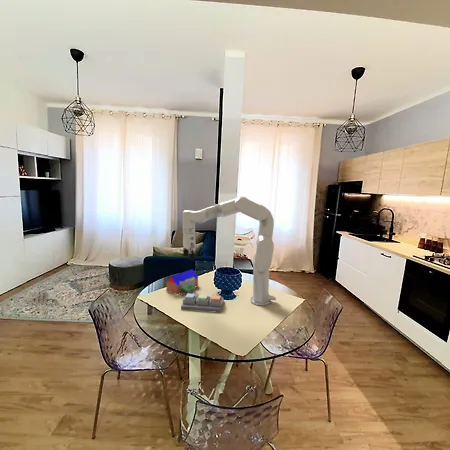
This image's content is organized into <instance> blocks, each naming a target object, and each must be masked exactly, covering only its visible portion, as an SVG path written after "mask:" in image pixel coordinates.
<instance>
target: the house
mask: <svg viewBox="0 0 450 450" xmlns="http://www.w3.org/2000/svg"><path fill="white" fill-rule="evenodd" d="M192 276H193V277H194V278H195V283H194V288H196V287H195V286H197V285H198V286H199V280H198V279H199V276H198V275H197V273H196V272H195V270H193V269H189V270H185V271H182V272H179V273H176V274H174V275H171V276H170V277H168V279H167V280H166V281H165V284H166V285H165V286H166V287H165V288H166V291H167V292H169V293H172V294H174V293H175V295H177V294H178V295H180V294H181V287H180V284H179V283H180V281H184V280H186V279H190V278H192ZM198 286H197V287H198ZM179 293H180V294H179Z"/></svg>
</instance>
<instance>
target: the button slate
mask: <svg viewBox="0 0 450 450" xmlns="http://www.w3.org/2000/svg"><path fill="white" fill-rule="evenodd" d="M195 295H196V293H193V294H190V293H187V295H186V296H184V297H185V299H190V300H194V298H195Z"/></svg>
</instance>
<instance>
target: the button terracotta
mask: <svg viewBox="0 0 450 450" xmlns="http://www.w3.org/2000/svg"><path fill="white" fill-rule="evenodd" d="M211 297H212V298H211ZM211 297H210V298H211V301H218V302H220V301H221V297H222V295H217V294H213V295H211Z"/></svg>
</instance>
